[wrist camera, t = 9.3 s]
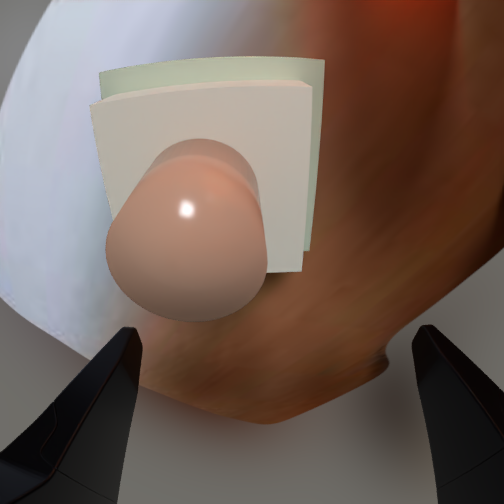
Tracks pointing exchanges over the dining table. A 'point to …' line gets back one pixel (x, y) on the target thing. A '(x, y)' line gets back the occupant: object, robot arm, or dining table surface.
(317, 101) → the sage slab
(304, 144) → the cream slab
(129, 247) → the pale pink cylinder
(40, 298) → the dining table surface
